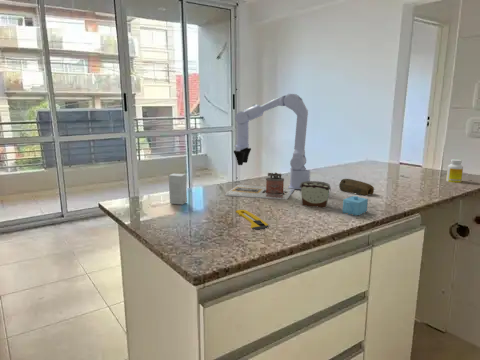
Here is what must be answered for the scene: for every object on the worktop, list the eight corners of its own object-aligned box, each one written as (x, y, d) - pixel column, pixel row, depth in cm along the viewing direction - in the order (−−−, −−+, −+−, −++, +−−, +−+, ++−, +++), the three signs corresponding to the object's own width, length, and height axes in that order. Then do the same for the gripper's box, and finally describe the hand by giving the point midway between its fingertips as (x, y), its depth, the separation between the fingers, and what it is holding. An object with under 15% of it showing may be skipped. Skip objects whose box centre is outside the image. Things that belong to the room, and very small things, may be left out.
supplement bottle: (463, 186, 181) (467, 161, 178) (449, 186, 181) (453, 161, 178) (455, 183, 187) (459, 158, 184) (442, 183, 187) (445, 158, 185)
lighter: (283, 193, 167) (284, 172, 165) (283, 195, 164) (284, 173, 162) (265, 193, 168) (266, 171, 166) (265, 195, 165) (266, 173, 163)
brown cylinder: (336, 193, 169) (337, 179, 168) (344, 190, 174) (345, 176, 172) (367, 199, 158) (368, 184, 157) (374, 196, 163) (376, 182, 162)
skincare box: (187, 202, 154) (186, 174, 151) (182, 204, 150) (181, 176, 147) (174, 200, 156) (173, 173, 153) (169, 203, 152) (168, 175, 149)
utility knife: (254, 234, 119) (254, 228, 118) (228, 214, 139) (228, 209, 138) (273, 231, 121) (273, 225, 121) (245, 212, 142) (245, 207, 141)
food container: (332, 206, 147) (334, 182, 145) (329, 211, 142) (331, 185, 140) (302, 203, 152) (303, 179, 150) (298, 207, 147) (299, 182, 145)
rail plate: (294, 191, 172) (294, 188, 172) (287, 201, 156) (287, 198, 155) (238, 186, 181) (238, 184, 181) (225, 195, 164) (225, 193, 164)
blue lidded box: (353, 222, 129) (354, 201, 128) (337, 218, 133) (338, 198, 132) (368, 214, 138) (369, 195, 136) (353, 211, 142) (354, 192, 140)
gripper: (239, 134, 188) (239, 161, 191) (229, 137, 174) (230, 165, 177) (252, 135, 186) (252, 161, 188) (244, 138, 172) (244, 166, 175)
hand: (242, 163), depth 183 cm, fingers open, 7 cm apart
